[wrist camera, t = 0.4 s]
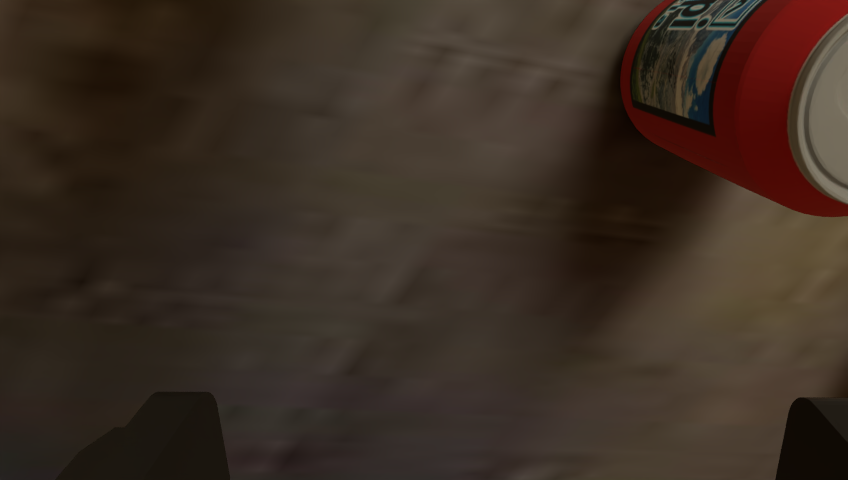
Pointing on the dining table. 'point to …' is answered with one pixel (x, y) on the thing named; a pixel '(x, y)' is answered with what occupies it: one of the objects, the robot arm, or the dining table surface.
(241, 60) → the dining table surface
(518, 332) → the dining table surface
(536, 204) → the dining table surface
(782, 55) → the beverage can
